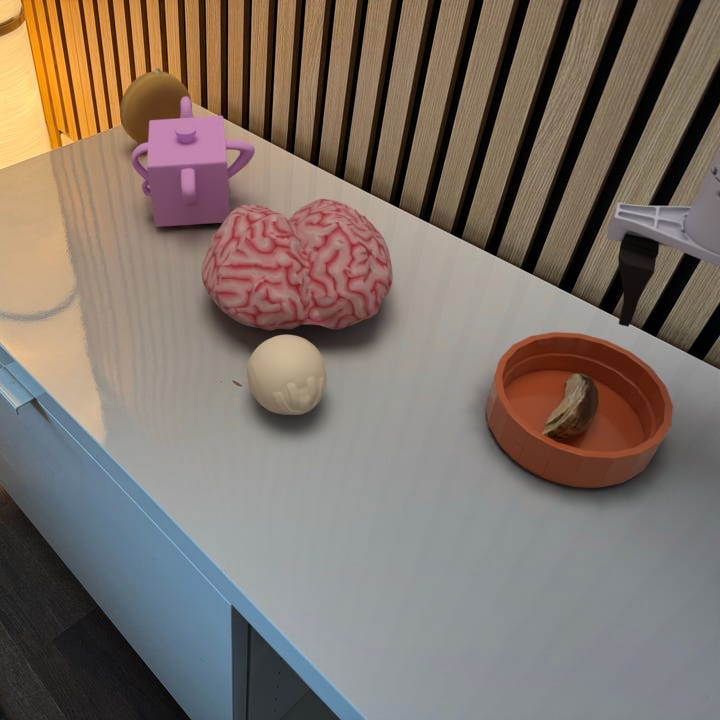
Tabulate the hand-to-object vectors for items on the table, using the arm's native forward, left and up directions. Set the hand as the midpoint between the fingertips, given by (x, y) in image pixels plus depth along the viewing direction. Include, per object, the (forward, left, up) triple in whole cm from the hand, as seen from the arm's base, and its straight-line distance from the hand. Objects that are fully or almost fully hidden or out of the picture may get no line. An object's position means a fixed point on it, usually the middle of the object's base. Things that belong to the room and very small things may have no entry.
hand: (678, 330), depth 58 cm
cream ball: (+28, +10, -11) cm, 32 cm away
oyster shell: (+6, +4, -10) cm, 12 cm away
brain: (+33, -4, -11) cm, 35 cm away
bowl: (+5, +3, -10) cm, 12 cm away
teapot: (+50, -15, -11) cm, 53 cm away
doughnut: (+61, -25, -11) cm, 66 cm away
